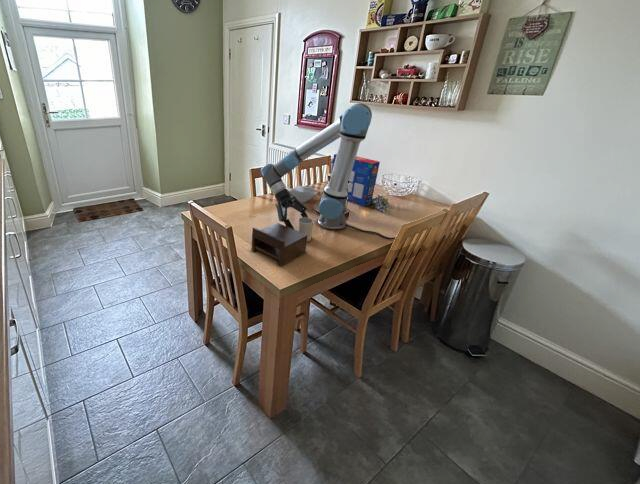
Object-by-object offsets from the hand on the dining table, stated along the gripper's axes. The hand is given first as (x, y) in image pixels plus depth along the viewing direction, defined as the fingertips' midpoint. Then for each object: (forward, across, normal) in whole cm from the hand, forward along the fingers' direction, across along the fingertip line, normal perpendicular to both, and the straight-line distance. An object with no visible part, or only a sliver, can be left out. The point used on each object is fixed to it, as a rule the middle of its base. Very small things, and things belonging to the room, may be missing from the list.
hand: (301, 227), depth 166 cm
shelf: (+5, +20, -2) cm, 21 cm away
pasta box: (-4, -69, -11) cm, 70 cm away
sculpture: (-18, -42, -26) cm, 52 cm away
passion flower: (+12, -66, +4) cm, 67 cm away
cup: (+5, 0, -2) cm, 6 cm away
